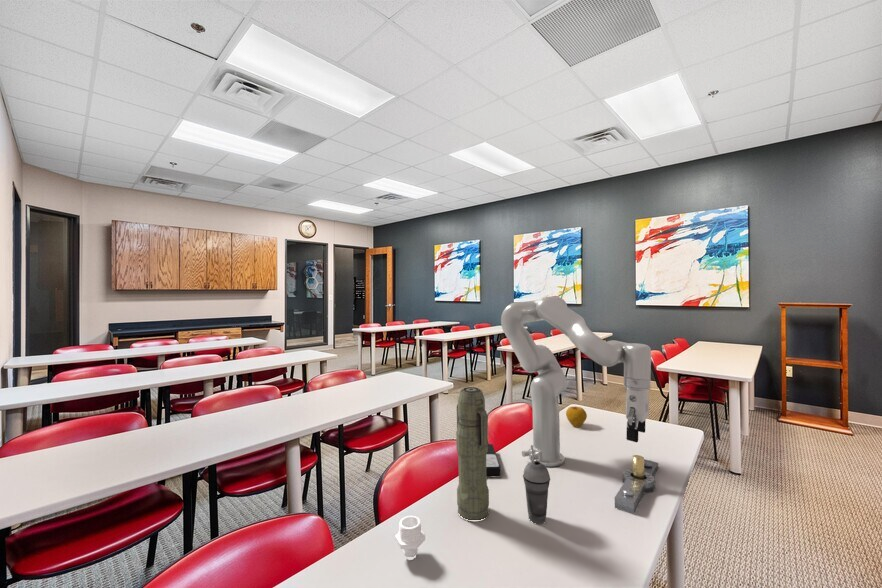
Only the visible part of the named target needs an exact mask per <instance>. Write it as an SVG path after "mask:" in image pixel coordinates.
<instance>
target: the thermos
mask: <svg viewBox="0 0 882 588" xmlns="http://www.w3.org/2000/svg"><path fill="white" fill-rule="evenodd" d="M488 417H489V416H488V414H487V410H486V398H485V396H484V394H483V391H482V389H480V388H478V387H476V386H475V387H474V386H468V387H467V386H466V387H463V388H462V389H461V390H460V391H459V395H458V398H457V404H456V430H455V431H456V432H455V436H456V437H455V438H456V443H455V444H456V452H457V454H458V455H457V456H458V458H457V459H458V485H457V488H456V502H457V503H456V504H457V513H459V514H460V516H462V517H463V518H465V519H468V520H481V519H484V518H486V517H487V515H488V516H489V513H488V512H489V506H490V505H489V504H490V495H489V493H490V489H489V487H488V484H487V483H488V482H487V481H488V480H487V478H488V477H487V473H486V454H487V451H488V444H489V441H488V440H489V438H488V435H489V434H488V432H489V431H488V430H489V429H488V428H489V425H488V424H489V418H488ZM460 516H459V517H460ZM487 518H488V517H487ZM487 518H486V519H487ZM484 520H485V519H484Z"/></svg>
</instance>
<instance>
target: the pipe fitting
mask: <svg viewBox="0 0 882 588" xmlns="http://www.w3.org/2000/svg"><path fill="white" fill-rule="evenodd" d="M398 522H399V524H398V532H397V533H396V534H395V536H394V538H395V539H394V540H395V541H396V543H397V545H398V547H399V548H400V549H401V550H403V557H404V556H406V557H414V556H415V555H417V556H418V548H419V547H420V546H421V545H422V544H423V543H424V542H425V541H426V534H425V533H424V531H423V530H422V520H421V519H420V518H419V517H418V516H415V515H407V516H404V517H402V518H401V519H400V520H399V521H398Z"/></svg>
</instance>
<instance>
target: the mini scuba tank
mask: <svg viewBox="0 0 882 588" xmlns="http://www.w3.org/2000/svg"><path fill="white" fill-rule="evenodd" d="M530 449H531V451H532V458H533V461H530V462H529V463H527V464H526V465H525V466H524V467H525V468H524V470H523V474H522V478H523V483H524V489H525V497H526V499H525V500H526V506H527V507H526V508H527V513H528V520H529V519H530V520H529V522H531V521H532V522H533V524H534V523H536V524H535V525H543V524H545V523H546V520H547V519H546V518H547V513H548V512H547V510H548V498H549V488H550V482H551V476H550V472H549V469H548V467H547V466H545V465H544V464H542V463H541V462H538V461H535V460H534V452H533V444H531V445H530ZM532 522H531V523H532ZM544 522H545V523H544Z"/></svg>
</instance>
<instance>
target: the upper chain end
mask: <svg viewBox="0 0 882 588" xmlns="http://www.w3.org/2000/svg"><path fill="white" fill-rule="evenodd" d="M623 479H624V480H625V482H624V483H623V484H622V485H621V487H620V488H619V490H618V491H617V493H616V494H615V497H614V508H615V509H616V508H617V510H620V511H623V512H625V513H629V514H632V515H635V514H634V513H636V512H637V509H638V508H639V506H640V504H641V502H642V500H643V498H644V496H645V493H644V489H645V488H650V487H653V486H654V484H655V485H656V479H655V476H654V477H653V476H652V475H650V474H649V473H647V472H644V480H639V479H635V478H633V468H632V469H625V470H624V471H623V473H622V480H623Z"/></svg>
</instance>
